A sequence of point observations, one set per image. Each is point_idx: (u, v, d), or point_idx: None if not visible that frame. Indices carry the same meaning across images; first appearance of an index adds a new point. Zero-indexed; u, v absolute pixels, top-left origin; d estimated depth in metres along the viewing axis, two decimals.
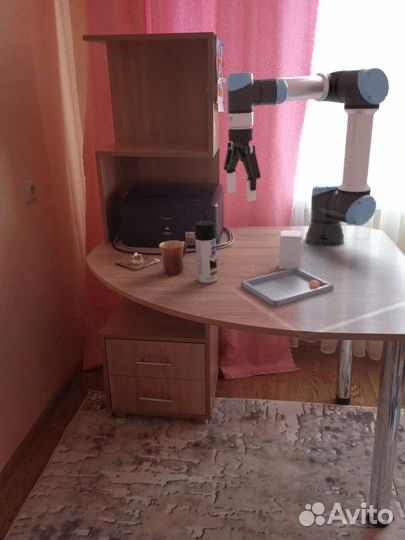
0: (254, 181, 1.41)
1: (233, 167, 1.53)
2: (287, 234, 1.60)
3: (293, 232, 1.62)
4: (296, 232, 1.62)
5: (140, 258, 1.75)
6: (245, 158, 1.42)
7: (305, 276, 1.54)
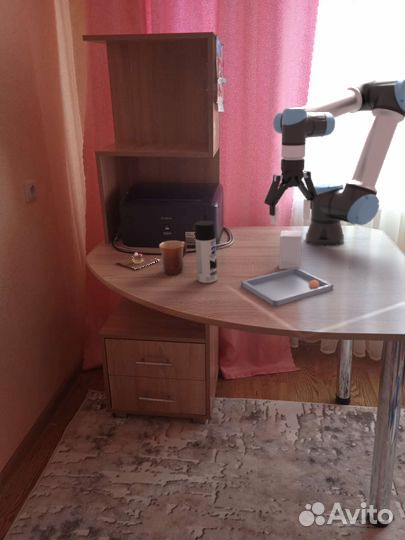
0: (270, 207, 1.54)
1: (305, 195, 1.59)
2: (287, 234, 1.60)
3: (293, 232, 1.62)
4: (296, 232, 1.62)
5: (140, 258, 1.75)
6: (281, 186, 1.54)
7: (305, 276, 1.54)
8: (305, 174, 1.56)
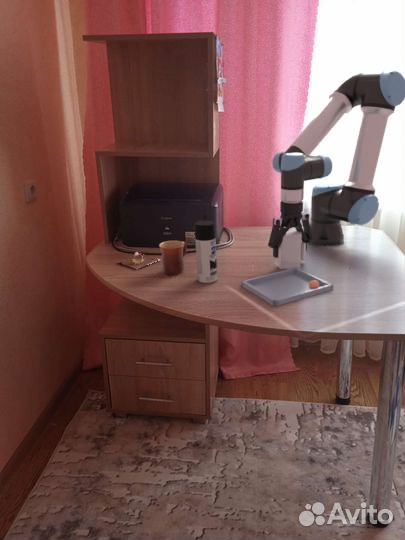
0: (274, 249, 1.60)
1: None
2: (287, 234, 1.60)
3: (293, 232, 1.62)
4: (296, 232, 1.62)
5: (141, 257, 1.76)
6: (281, 228, 1.60)
7: (305, 276, 1.54)
8: (304, 216, 1.62)
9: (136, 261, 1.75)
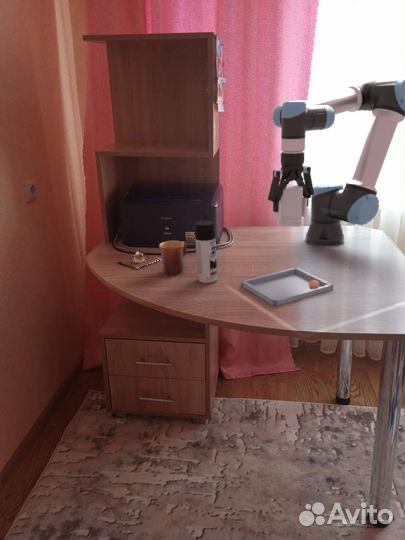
0: (274, 203, 1.54)
1: (303, 191, 1.58)
2: (288, 187, 1.54)
3: (294, 186, 1.56)
4: (297, 186, 1.56)
5: (142, 257, 1.76)
6: (282, 181, 1.54)
7: (305, 276, 1.54)
8: (305, 169, 1.55)
9: (137, 260, 1.76)
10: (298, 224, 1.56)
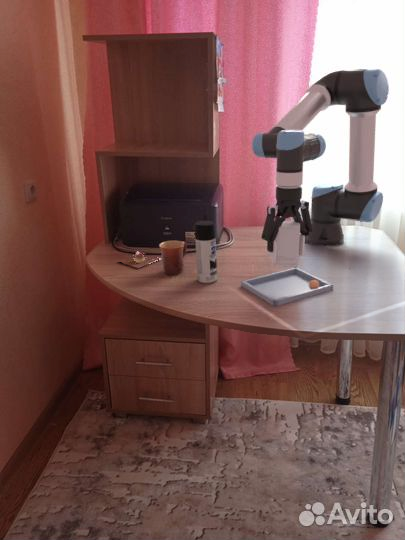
0: (268, 243, 1.39)
1: (300, 228, 1.43)
2: (284, 225, 1.39)
3: (290, 222, 1.41)
4: (294, 222, 1.41)
5: (142, 257, 1.76)
6: (277, 217, 1.38)
7: (305, 276, 1.54)
8: (303, 204, 1.40)
9: (137, 260, 1.76)
10: (295, 265, 1.41)
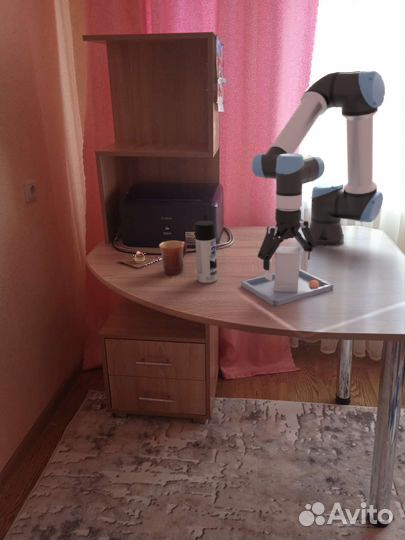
0: (264, 261, 1.41)
1: (303, 245, 1.46)
2: (283, 251, 1.42)
3: (290, 248, 1.44)
4: (293, 248, 1.44)
5: (142, 256, 1.77)
6: (275, 238, 1.41)
7: (305, 276, 1.54)
8: (302, 224, 1.43)
9: (138, 260, 1.76)
10: (295, 290, 1.44)
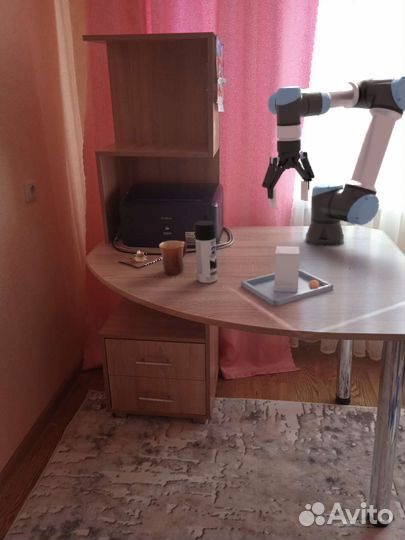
0: (268, 190, 1.51)
1: (303, 176, 1.56)
2: (283, 251, 1.42)
3: (290, 248, 1.44)
4: (293, 248, 1.44)
5: (143, 256, 1.77)
6: (278, 168, 1.51)
7: (305, 276, 1.54)
8: (302, 155, 1.53)
9: (138, 259, 1.77)
10: (295, 290, 1.44)
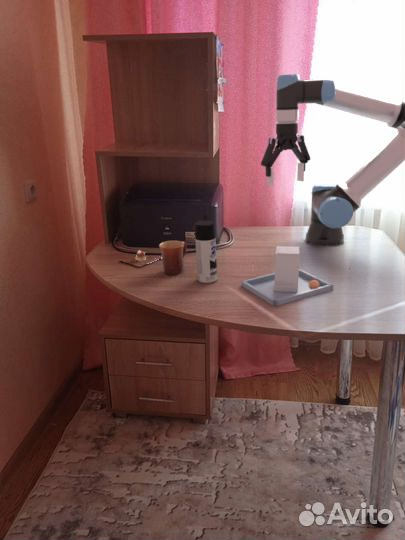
0: (267, 168, 1.66)
1: (299, 158, 1.71)
2: (283, 251, 1.42)
3: (290, 248, 1.44)
4: (293, 248, 1.44)
5: (143, 255, 1.78)
6: (276, 148, 1.66)
7: (305, 276, 1.54)
8: (299, 138, 1.68)
9: (139, 259, 1.77)
10: (295, 290, 1.44)
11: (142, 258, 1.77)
